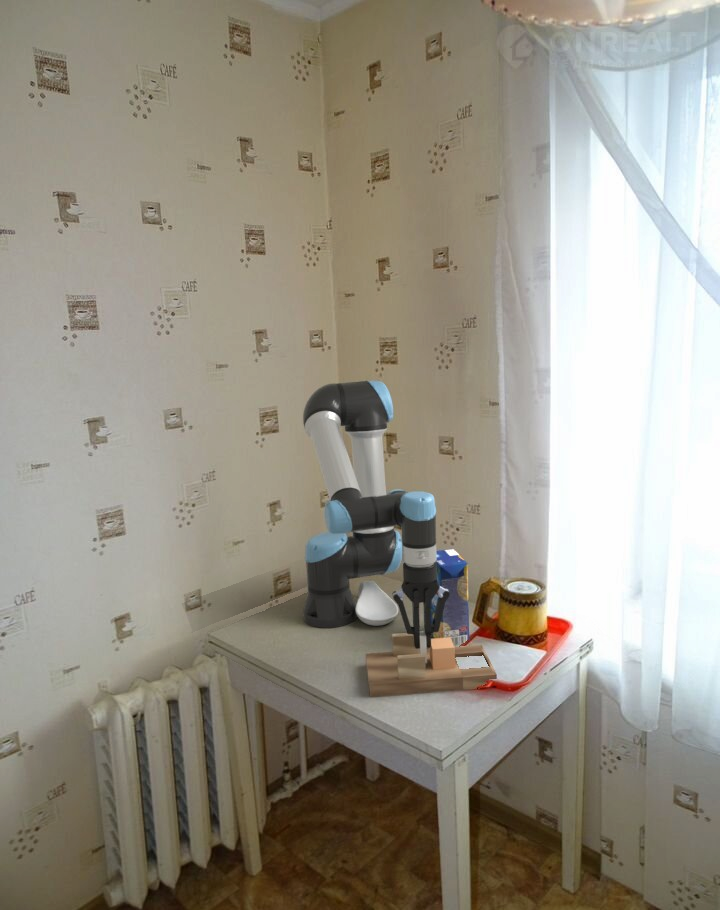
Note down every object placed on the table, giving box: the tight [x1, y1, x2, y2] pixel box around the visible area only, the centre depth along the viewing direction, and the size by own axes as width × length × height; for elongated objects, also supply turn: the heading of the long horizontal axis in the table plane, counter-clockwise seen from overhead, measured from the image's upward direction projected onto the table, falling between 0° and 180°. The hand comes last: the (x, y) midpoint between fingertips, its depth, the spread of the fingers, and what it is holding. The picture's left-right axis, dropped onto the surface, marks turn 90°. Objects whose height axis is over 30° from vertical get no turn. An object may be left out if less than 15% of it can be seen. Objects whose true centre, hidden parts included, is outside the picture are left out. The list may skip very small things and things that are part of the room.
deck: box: [365, 632, 498, 698], centre depth 154 cm, size 14×28×8 cm, turn 93°
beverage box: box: [430, 548, 470, 647], centre depth 170 cm, size 7×11×22 cm, turn 11°
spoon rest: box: [355, 579, 400, 627], centre depth 190 cm, size 24×12×7 cm, turn 11°
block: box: [428, 637, 455, 670], centre depth 153 cm, size 5×5×5 cm
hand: (423, 660), depth 154 cm, fingers closed
